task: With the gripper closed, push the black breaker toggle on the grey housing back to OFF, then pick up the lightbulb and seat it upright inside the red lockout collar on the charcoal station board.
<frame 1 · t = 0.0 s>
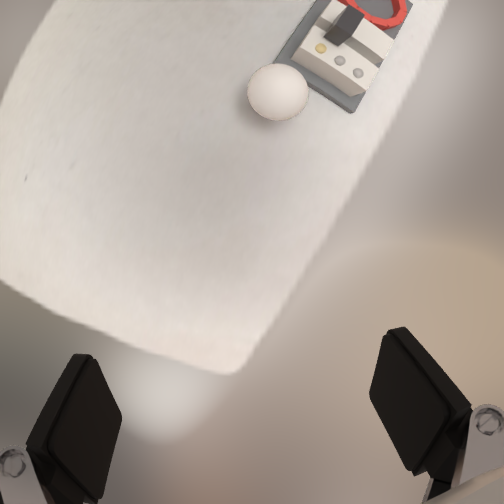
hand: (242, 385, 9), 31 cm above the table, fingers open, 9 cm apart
breaker toggle: (338, 30, 25), point 7 cm above the table, slide at 0.0 cm
lightbulb: (266, 103, 34), on the table
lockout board: (350, 27, 31), on the table
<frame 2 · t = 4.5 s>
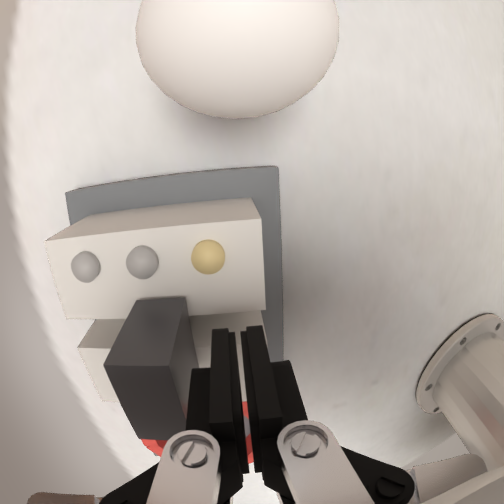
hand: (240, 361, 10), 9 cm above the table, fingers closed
breaker toggle: (167, 341, 11), point 7 cm above the table, slide at 1.5 cm, touching gripper
lightbulb: (232, 82, 15), on the table
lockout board: (194, 351, 20), on the table
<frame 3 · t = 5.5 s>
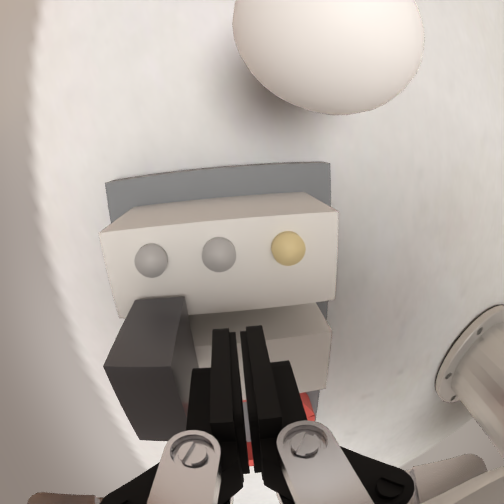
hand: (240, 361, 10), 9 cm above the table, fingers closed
breaker toggle: (167, 340, 11), point 7 cm above the table, slide at 4.4 cm, touching gripper
lightbulb: (281, 78, 15), on the table
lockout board: (233, 347, 20), on the table
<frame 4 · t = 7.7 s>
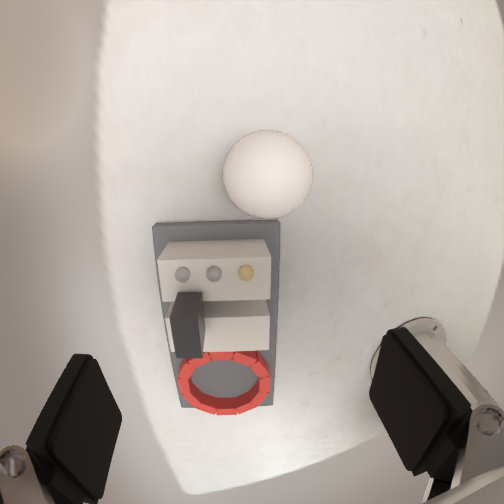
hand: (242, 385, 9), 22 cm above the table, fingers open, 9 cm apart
breaker toggle: (191, 313, 24), point 7 cm above the table, slide at 4.0 cm
lightbulb: (257, 168, 28), on the table
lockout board: (221, 327, 33), on the table
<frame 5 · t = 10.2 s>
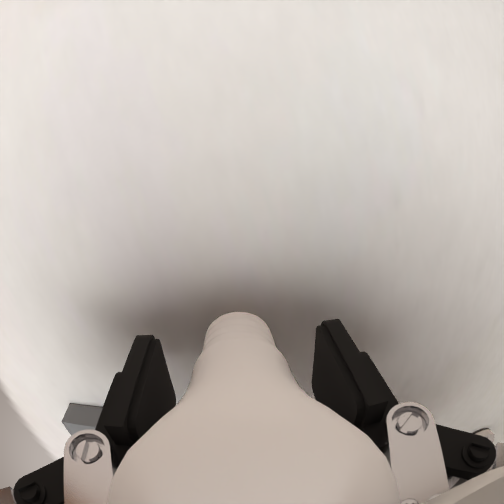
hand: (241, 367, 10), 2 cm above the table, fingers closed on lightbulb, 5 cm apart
lightbulb: (237, 325, 12), on the table, touching gripper
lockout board: (205, 497, 17), on the table
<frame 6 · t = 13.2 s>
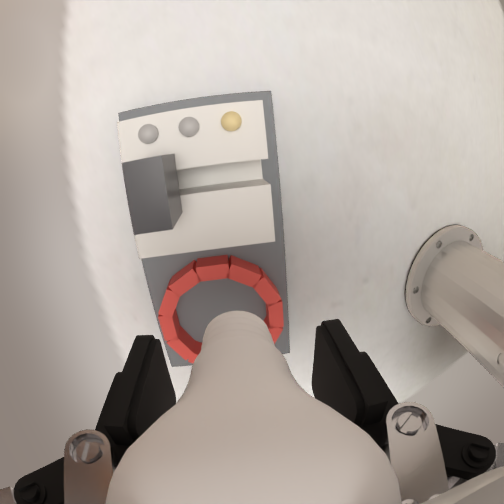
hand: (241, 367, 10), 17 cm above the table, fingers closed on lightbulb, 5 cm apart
breaker toggle: (161, 186, 17), point 7 cm above the table, slide at 4.0 cm
lightbulb: (235, 324, 12), point 14 cm above the table, touching gripper
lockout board: (211, 241, 26), on the table
when the fingers open (5 cm above the table, at t = 16.4 s): lightbulb drops 1 cm, resting on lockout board.
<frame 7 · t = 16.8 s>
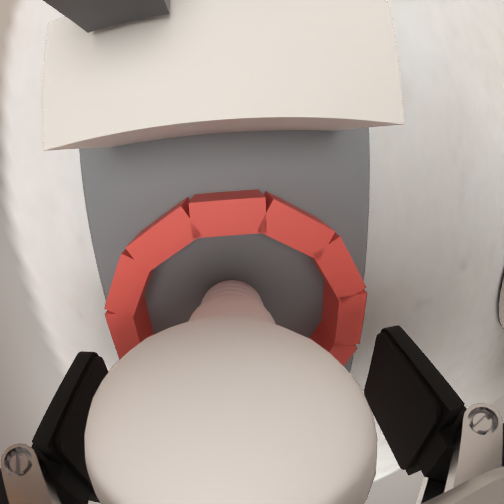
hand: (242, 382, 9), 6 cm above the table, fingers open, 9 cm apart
lightbulb: (232, 298, 13), point 1 cm above the table, touching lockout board
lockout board: (225, 168, 13), on the table
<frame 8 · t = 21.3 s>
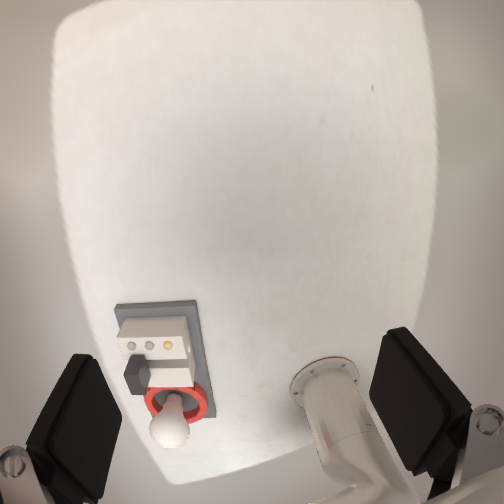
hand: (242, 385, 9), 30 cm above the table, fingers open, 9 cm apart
breaker toggle: (140, 366, 36), point 7 cm above the table, slide at 4.0 cm
lightbulb: (175, 394, 45), point 1 cm above the table, touching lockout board
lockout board: (170, 366, 45), on the table
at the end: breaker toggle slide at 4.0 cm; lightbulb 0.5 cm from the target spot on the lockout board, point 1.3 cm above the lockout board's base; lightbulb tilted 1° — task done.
